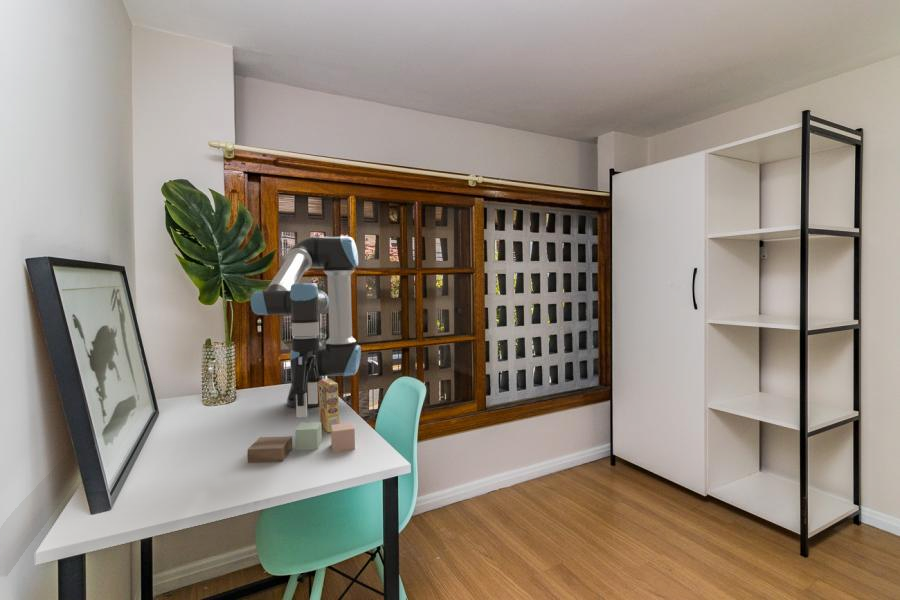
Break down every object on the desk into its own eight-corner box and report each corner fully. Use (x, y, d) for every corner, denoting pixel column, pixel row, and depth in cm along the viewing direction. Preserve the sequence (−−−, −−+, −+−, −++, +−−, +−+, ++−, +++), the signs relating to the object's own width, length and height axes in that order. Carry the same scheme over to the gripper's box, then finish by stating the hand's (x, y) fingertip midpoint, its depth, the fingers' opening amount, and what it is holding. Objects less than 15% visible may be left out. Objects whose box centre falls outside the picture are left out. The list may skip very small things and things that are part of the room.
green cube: (301, 442, 132) (300, 423, 132) (321, 441, 133) (321, 422, 132) (296, 450, 126) (295, 429, 126) (317, 449, 127) (317, 429, 126)
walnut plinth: (260, 451, 127) (260, 437, 127) (292, 449, 127) (292, 436, 127) (247, 464, 118) (247, 449, 118) (282, 463, 119) (281, 448, 118)
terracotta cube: (331, 444, 130) (330, 424, 130) (352, 442, 132) (351, 422, 132) (333, 452, 125) (332, 431, 124) (355, 449, 127) (354, 428, 126)
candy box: (340, 430, 142) (338, 383, 141) (327, 433, 140) (325, 385, 139) (331, 423, 150) (329, 378, 149) (318, 425, 147) (317, 379, 146)
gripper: (302, 332, 140) (304, 399, 141) (279, 343, 115) (281, 424, 116) (327, 331, 141) (329, 398, 141) (308, 342, 116) (311, 422, 116)
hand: (307, 410), depth 129 cm, fingers open, 13 cm apart
